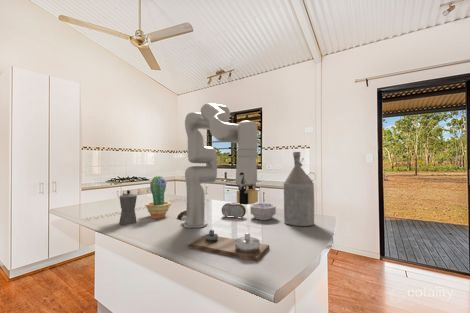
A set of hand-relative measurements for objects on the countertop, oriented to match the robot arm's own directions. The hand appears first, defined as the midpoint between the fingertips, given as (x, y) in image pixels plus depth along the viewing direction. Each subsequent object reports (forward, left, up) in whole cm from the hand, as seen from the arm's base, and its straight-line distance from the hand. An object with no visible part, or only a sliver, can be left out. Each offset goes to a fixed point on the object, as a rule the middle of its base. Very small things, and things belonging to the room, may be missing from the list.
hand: (247, 202), depth 86 cm
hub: (0, 0, -17) cm, 17 cm away
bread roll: (-54, +34, -19) cm, 67 cm away
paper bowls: (-13, +53, -19) cm, 58 cm away
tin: (-30, +47, -19) cm, 59 cm away
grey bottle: (+9, +51, -19) cm, 55 cm away
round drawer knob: (-17, +2, -17) cm, 24 cm away
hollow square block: (0, 0, 0) cm, 0 cm away
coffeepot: (-77, +9, -19) cm, 80 cm away
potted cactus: (-73, +28, -19) cm, 81 cm away
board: (-9, +1, -19) cm, 21 cm away
